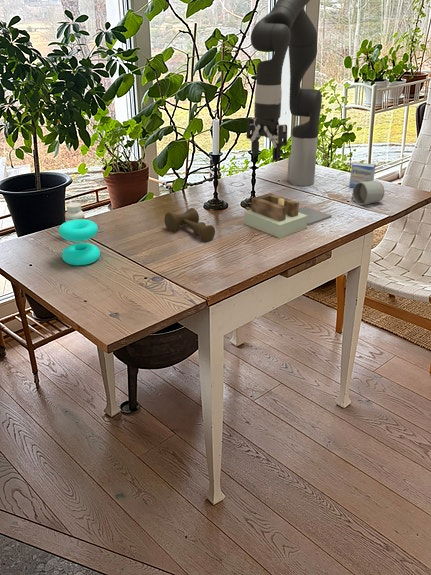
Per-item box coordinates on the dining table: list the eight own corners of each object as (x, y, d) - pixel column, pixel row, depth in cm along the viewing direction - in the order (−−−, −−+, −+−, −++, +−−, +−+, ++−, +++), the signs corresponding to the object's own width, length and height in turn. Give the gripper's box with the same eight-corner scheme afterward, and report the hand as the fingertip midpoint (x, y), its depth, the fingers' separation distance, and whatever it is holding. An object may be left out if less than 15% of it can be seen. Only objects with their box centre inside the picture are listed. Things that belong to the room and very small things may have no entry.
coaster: (282, 215, 187) (282, 214, 186) (305, 208, 193) (305, 206, 193) (308, 225, 179) (308, 223, 179) (331, 217, 186) (331, 215, 186)
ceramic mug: (384, 204, 197) (387, 182, 193) (365, 208, 193) (368, 185, 190) (364, 195, 205) (366, 174, 202) (345, 199, 202) (347, 177, 198)
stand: (243, 223, 181) (244, 195, 176) (271, 214, 188) (272, 187, 183) (279, 237, 171) (280, 208, 166) (306, 227, 178) (308, 199, 173)
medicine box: (348, 188, 212) (351, 164, 208) (351, 184, 216) (353, 161, 212) (370, 190, 210) (374, 166, 206) (372, 187, 213) (375, 163, 209)
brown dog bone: (195, 247, 166) (157, 225, 180) (222, 240, 171) (182, 219, 185) (196, 228, 163) (157, 206, 177) (223, 221, 168) (183, 201, 182)
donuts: (92, 215, 159) (101, 228, 151) (95, 249, 163) (104, 263, 155) (54, 220, 155) (62, 233, 147) (59, 255, 160) (66, 269, 152)
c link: (251, 210, 179) (251, 198, 177) (269, 205, 184) (270, 192, 182) (279, 221, 171) (280, 208, 169) (298, 215, 176) (299, 202, 174)
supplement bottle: (86, 232, 174) (83, 201, 170) (86, 239, 170) (82, 207, 165) (68, 233, 173) (64, 202, 169) (67, 240, 169) (63, 208, 164)
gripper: (241, 98, 168) (239, 154, 176) (277, 105, 159) (274, 164, 166) (259, 95, 173) (257, 150, 180) (295, 102, 163) (292, 159, 171)
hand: (265, 157), depth 173 cm, fingers open, 8 cm apart
